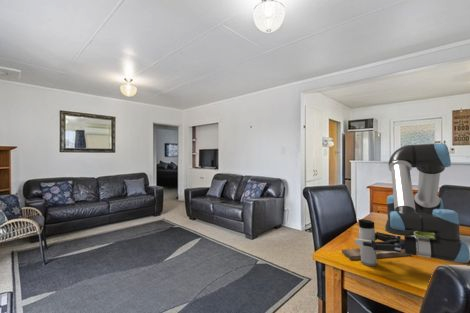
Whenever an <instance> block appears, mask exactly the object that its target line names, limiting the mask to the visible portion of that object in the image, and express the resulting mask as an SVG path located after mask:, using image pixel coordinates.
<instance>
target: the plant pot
mask: <svg viewBox="0 0 470 313" xmlns="http://www.w3.org/2000/svg"><path fill="white" fill-rule="evenodd" d="M413 235H414V237H415V238H417V237H424V238H431V239H435V237H434V233H426V232H418V231H414V234H413Z"/></svg>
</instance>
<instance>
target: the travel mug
mask: <svg viewBox="0 0 470 313" xmlns="http://www.w3.org/2000/svg"><path fill="white" fill-rule="evenodd" d="M358 230H359V231H358V232H359V233H358V236H359V235H360V237H359V239H363V240H370V241H372V240H373V241H374V242H376V240H375V233H376V228H375V221H372V220H369V219H365V218H364V219H363V218H361V219H360V218H359V219H358ZM359 247H360V253H361V260H360V263H361V264H362V265H365V266H367V267H375V266H377V265H378V264H377V258H376V250H373V248H371V247H365V246H359Z"/></svg>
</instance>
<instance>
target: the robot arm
mask: <svg viewBox="0 0 470 313" xmlns="http://www.w3.org/2000/svg"><path fill="white" fill-rule="evenodd" d="M451 166H452V161H451V155H450V150H449V147H448V146H447V144H446V143H436V142H434V143H423V144H406V145H404V146H401V147H399V148H398V149H396V150H395V151H394V152H393V153H392V154H391V155H390V158H389V161H388V170H389V171H390V174H391V181H392V183H391V184H392V194H390V195H388V196H387V197H386V206H387V208H386V210H387V220H386V222H385V226H384V229H385V231H386V232H387V233H385V232H379V231H375V242H374V241H373V240H372V241H370V240H363V239H360V235H359V231H358V238H354V246H359V247H360V246H365V247H371V248H373V250H379V251H395V252H401V249H404V250H405V253H406V254H409V255H411V256H417V255H418V256H419V257H424V258H425V259H428V258H430V259H437V260H442V261H447V262H452V263H463V264H465V263H466V264H467V263H469V262H470V247H469V245H468V244H467V242H463V241H462V240H461V236H460V220H459V214H458V212H456V211H455V210H452V209H445V208H444V202H443V200H442V198H441V197H439V196H438V191H439V184H440V176H441V173H443V172H444V171H445V169H446V168H450V167H451ZM413 168H415V169H416V170H417V171H418V184H417V185H418V186H417V192H416V193H415V195H414V190H413V185H412V182H413V181H412V178H411V176H412V175H411V170H412V169H413ZM416 231H418V232H426V233H434V237H435V239H431V238H424V237H417V238H416V236H415V235H414V234H413V233H414V232H416ZM389 233H390V234H389ZM393 234H394V235H393ZM411 234H412V235H411ZM413 235H414V236H413ZM401 236H404V237H403V238H404V239H402V237H401ZM377 240H378V241H377Z"/></svg>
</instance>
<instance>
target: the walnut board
mask: <svg viewBox="0 0 470 313" xmlns="http://www.w3.org/2000/svg"><path fill="white" fill-rule="evenodd" d="M342 253H343V254H344V255H345V257H346V258H347V259H348V258H349V259H348V260H350V261H359V260H360V261H361V253H360V248H345V249H341V254H342ZM343 254H342V255H343ZM344 255H343V256H344ZM408 256H412V255H409V254H406V253H405V250H404V249H401V252H395V251H379V250H376V259H386V258H394V257H395V258H397V257H399V258H400V257H408Z"/></svg>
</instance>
